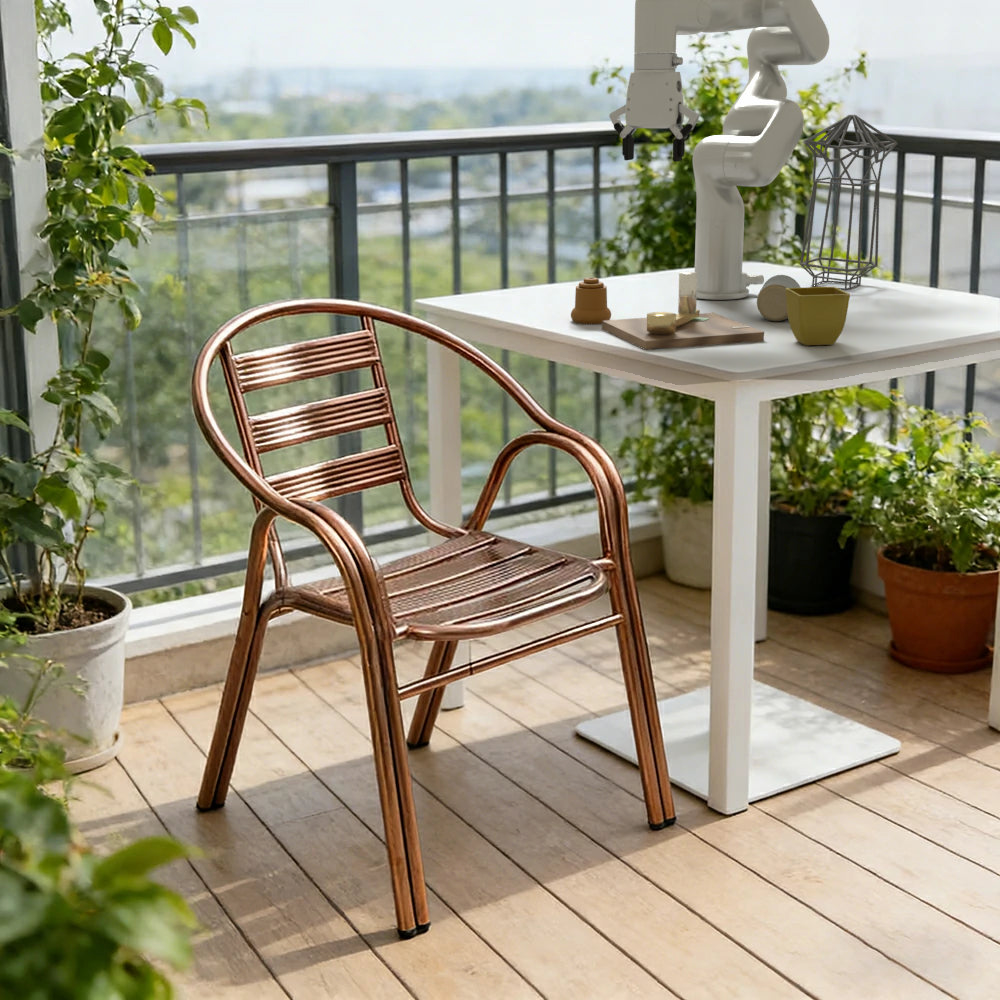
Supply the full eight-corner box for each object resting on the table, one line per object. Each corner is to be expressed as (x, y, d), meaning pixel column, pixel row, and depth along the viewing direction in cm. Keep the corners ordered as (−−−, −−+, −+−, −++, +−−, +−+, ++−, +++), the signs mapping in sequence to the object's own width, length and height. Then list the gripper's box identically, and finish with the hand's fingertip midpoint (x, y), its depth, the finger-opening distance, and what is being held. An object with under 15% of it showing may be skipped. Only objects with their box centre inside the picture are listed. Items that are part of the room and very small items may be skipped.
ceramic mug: (753, 321, 260) (756, 280, 258) (760, 314, 268) (762, 273, 265) (812, 325, 257) (815, 283, 255) (817, 317, 265) (820, 276, 262)
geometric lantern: (817, 278, 308) (831, 112, 297) (887, 286, 299) (903, 115, 288) (786, 287, 296) (799, 114, 285) (858, 296, 287) (874, 117, 276)
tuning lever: (669, 334, 240) (670, 286, 237) (641, 332, 242) (642, 284, 239) (707, 317, 255) (708, 271, 252) (681, 314, 257) (682, 269, 254)
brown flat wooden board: (712, 320, 262) (713, 312, 261) (763, 340, 244) (764, 331, 243) (601, 328, 256) (601, 320, 255) (645, 349, 237) (645, 340, 237)
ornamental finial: (588, 326, 258) (562, 321, 264) (619, 321, 262) (593, 316, 268) (588, 282, 256) (562, 278, 262) (619, 278, 260) (593, 274, 266)
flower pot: (782, 339, 245) (784, 287, 242) (831, 337, 246) (834, 285, 243) (796, 349, 237) (799, 295, 234) (847, 347, 237) (851, 294, 234)
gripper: (707, 63, 257) (704, 160, 262) (619, 64, 265) (617, 158, 270) (692, 64, 251) (690, 163, 256) (602, 64, 259) (602, 160, 264)
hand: (653, 160), depth 263 cm, fingers open, 9 cm apart
